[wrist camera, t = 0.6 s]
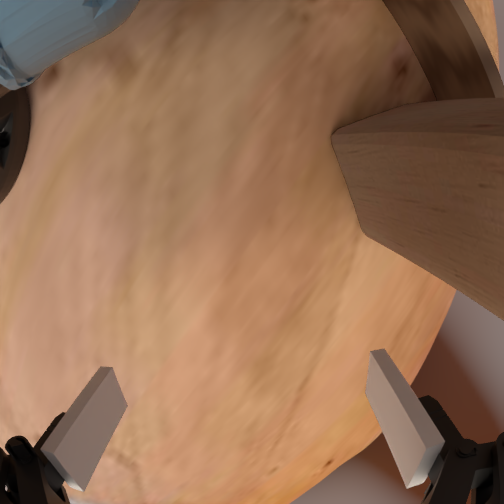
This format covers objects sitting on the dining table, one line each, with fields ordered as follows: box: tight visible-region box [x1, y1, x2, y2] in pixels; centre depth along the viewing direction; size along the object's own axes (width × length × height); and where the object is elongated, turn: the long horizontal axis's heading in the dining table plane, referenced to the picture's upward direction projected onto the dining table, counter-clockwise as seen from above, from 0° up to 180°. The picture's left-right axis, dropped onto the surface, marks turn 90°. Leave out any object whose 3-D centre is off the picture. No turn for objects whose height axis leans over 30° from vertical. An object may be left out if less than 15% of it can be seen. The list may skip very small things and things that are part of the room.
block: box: [331, 98, 504, 321], centre depth 15 cm, size 10×10×20 cm
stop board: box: [383, 0, 504, 101], centre depth 19 cm, size 22×2×8 cm, turn 32°
